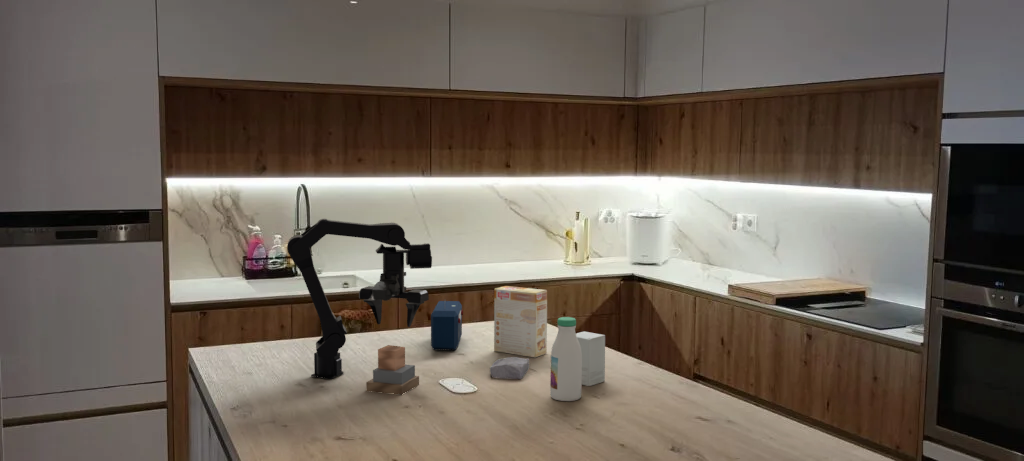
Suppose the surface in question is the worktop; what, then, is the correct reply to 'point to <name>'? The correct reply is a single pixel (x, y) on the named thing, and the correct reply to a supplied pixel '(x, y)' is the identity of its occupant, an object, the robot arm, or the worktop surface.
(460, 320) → the radio
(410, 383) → the tower base block
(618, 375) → the worktop surface
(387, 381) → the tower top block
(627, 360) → the worktop surface
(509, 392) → the worktop surface
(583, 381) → the supplement box
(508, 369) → the stone block
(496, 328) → the coffeecake box
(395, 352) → the terracotta cube
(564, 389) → the milk bottle
